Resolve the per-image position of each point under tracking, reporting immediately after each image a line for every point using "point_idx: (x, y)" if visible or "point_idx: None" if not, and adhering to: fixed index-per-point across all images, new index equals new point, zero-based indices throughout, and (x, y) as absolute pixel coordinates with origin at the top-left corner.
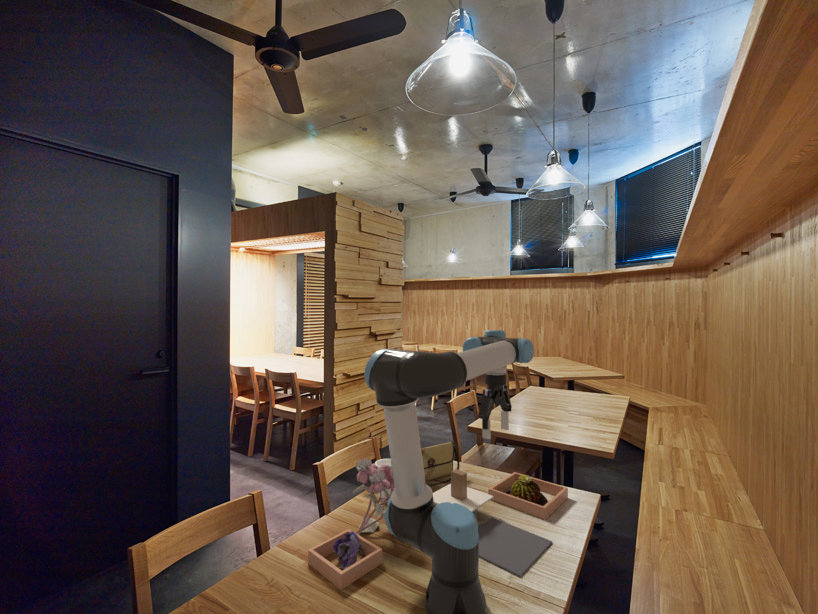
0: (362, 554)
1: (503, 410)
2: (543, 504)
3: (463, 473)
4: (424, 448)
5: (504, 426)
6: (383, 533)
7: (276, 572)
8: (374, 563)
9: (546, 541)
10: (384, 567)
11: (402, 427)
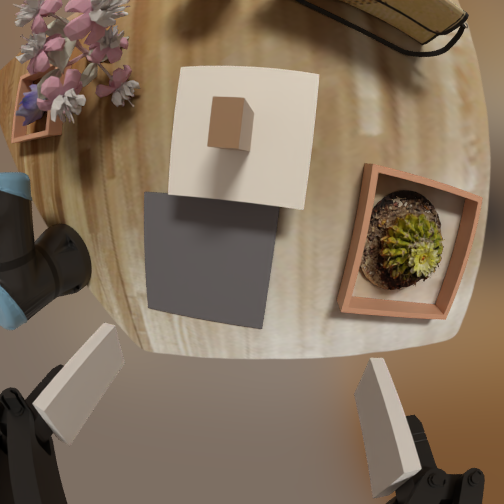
0: None
1: (413, 481)
2: (392, 283)
3: (224, 142)
4: None
5: (365, 393)
6: None
7: (17, 74)
8: (48, 136)
9: (255, 322)
10: (58, 144)
11: None
